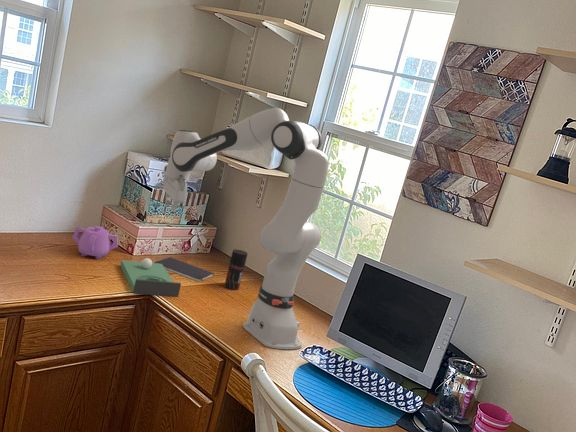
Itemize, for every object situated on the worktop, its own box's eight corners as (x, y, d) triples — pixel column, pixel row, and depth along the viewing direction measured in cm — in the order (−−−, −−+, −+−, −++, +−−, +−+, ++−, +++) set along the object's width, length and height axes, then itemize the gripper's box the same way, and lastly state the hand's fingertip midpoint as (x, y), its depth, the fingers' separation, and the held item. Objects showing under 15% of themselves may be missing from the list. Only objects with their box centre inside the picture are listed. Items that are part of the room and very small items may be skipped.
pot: (75, 244, 242) (80, 216, 239) (118, 253, 244) (124, 226, 242) (64, 256, 224) (69, 227, 222) (110, 266, 227) (116, 237, 225)
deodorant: (236, 291, 235) (245, 255, 232) (222, 287, 236) (231, 251, 233) (240, 287, 240) (249, 252, 238) (226, 283, 241) (235, 248, 238)
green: (178, 296, 214) (181, 283, 213) (133, 293, 206) (136, 280, 205) (160, 269, 237) (163, 257, 236) (120, 265, 230) (122, 253, 229)
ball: (152, 270, 226) (154, 260, 225) (141, 269, 224) (143, 259, 223) (149, 266, 230) (151, 257, 229) (139, 265, 228) (141, 256, 227)
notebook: (213, 276, 247) (169, 260, 253) (213, 273, 246) (170, 257, 253) (198, 282, 235) (152, 265, 241) (199, 279, 235) (153, 262, 241)
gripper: (194, 180, 213) (185, 217, 216) (179, 168, 231) (171, 202, 233) (177, 177, 210) (168, 214, 213) (163, 165, 228) (156, 199, 230)
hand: (170, 208), depth 223 cm, fingers open, 7 cm apart
